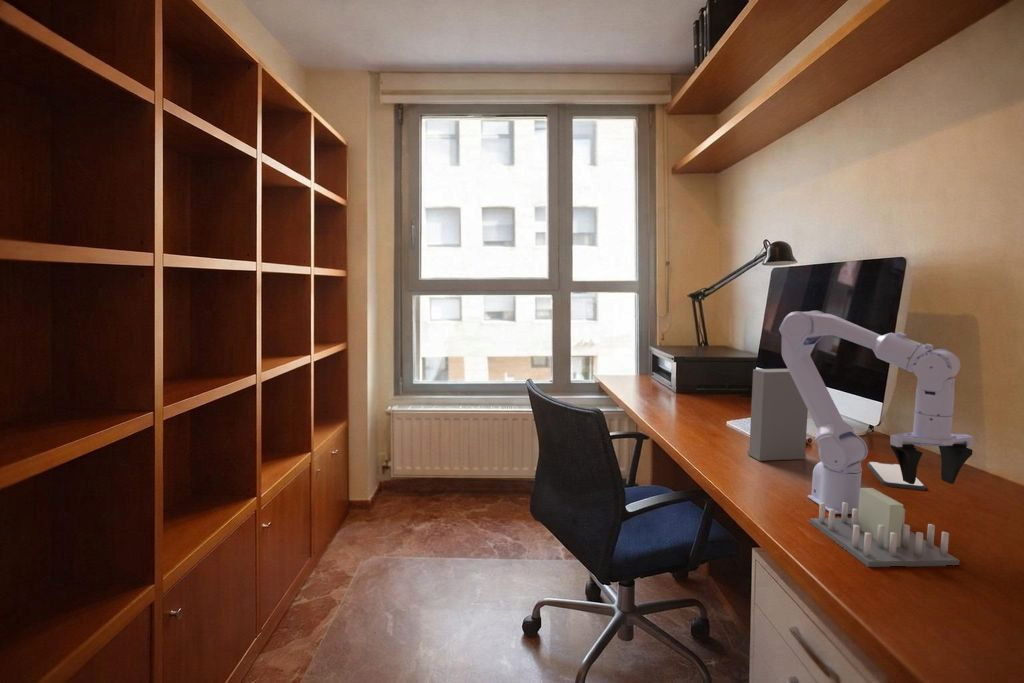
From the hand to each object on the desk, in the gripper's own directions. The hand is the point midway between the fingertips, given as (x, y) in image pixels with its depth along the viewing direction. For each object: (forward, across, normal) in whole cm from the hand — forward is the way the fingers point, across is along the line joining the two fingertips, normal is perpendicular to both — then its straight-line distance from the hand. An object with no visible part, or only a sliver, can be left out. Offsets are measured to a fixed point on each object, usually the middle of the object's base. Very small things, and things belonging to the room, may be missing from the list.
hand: (928, 482), depth 102 cm
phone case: (+11, +17, +31) cm, 37 cm away
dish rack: (+10, -12, -4) cm, 16 cm away
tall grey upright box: (+10, -5, +47) cm, 48 cm away
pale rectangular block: (+9, -12, -3) cm, 15 cm away
